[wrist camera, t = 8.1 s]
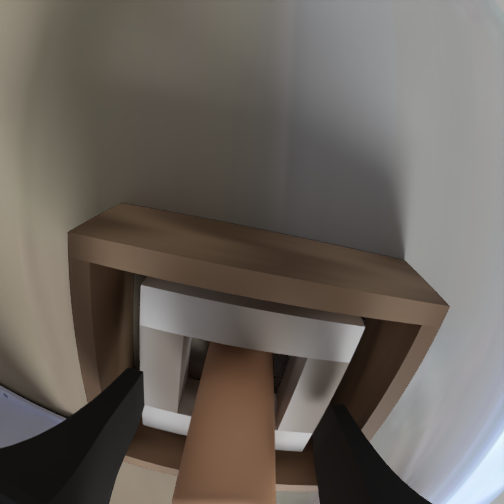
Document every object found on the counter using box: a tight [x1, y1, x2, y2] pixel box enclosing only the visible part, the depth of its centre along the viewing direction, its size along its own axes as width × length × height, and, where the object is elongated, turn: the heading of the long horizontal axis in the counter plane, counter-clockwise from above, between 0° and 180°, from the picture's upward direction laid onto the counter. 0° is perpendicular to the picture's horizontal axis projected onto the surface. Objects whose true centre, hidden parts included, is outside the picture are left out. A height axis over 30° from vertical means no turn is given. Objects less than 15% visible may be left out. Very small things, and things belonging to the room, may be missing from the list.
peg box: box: [68, 203, 450, 492], centre depth 12 cm, size 12×12×4 cm
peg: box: [172, 341, 276, 504], centre depth 10 cm, size 3×3×8 cm
